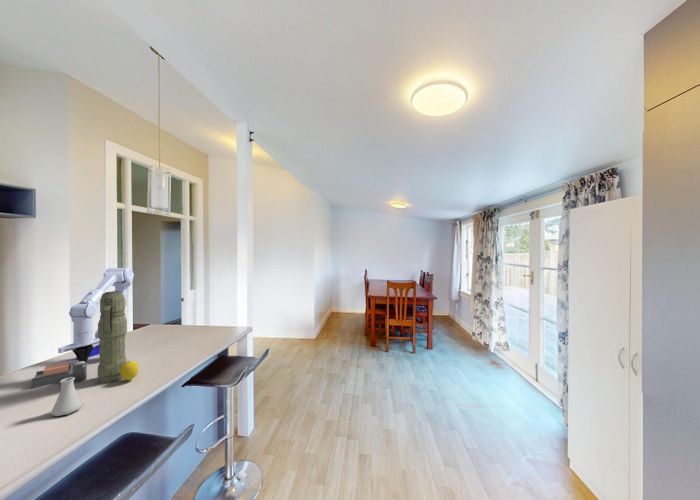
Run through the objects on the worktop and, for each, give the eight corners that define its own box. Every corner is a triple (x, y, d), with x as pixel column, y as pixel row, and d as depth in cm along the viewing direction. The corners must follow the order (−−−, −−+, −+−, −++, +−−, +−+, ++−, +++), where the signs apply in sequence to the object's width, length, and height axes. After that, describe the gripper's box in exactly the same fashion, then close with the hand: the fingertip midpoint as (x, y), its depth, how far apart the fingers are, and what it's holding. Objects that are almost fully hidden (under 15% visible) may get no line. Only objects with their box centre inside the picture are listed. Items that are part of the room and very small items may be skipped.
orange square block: (69, 366, 113) (69, 361, 113) (67, 372, 108) (67, 366, 108) (46, 371, 109) (46, 365, 109) (43, 377, 104) (43, 370, 104)
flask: (66, 404, 91) (66, 374, 91) (89, 403, 92) (89, 373, 92) (43, 417, 84) (43, 385, 84) (68, 416, 84) (68, 384, 84)
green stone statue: (93, 387, 102) (93, 295, 102) (102, 375, 112) (102, 290, 112) (123, 382, 106) (123, 293, 106) (129, 370, 116) (129, 289, 116)
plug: (87, 376, 110) (87, 359, 110) (86, 380, 107) (86, 362, 107) (73, 380, 108) (73, 362, 108) (71, 383, 105) (71, 365, 105)
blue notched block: (101, 349, 141) (100, 338, 140) (108, 350, 140) (108, 338, 140) (73, 359, 129) (73, 346, 129) (81, 359, 128) (81, 347, 128)
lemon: (118, 385, 104) (118, 364, 104) (122, 379, 108) (122, 359, 108) (136, 382, 106) (136, 361, 106) (139, 376, 111) (139, 356, 111)
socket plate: (79, 370, 116) (79, 362, 116) (76, 378, 109) (76, 370, 109) (37, 379, 108) (37, 370, 108) (31, 388, 101) (31, 379, 101)
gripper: (98, 326, 122) (98, 356, 122) (54, 335, 108) (54, 369, 108) (108, 328, 119) (108, 359, 119) (63, 338, 106) (63, 372, 106)
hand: (83, 364), depth 113 cm, fingers closed
